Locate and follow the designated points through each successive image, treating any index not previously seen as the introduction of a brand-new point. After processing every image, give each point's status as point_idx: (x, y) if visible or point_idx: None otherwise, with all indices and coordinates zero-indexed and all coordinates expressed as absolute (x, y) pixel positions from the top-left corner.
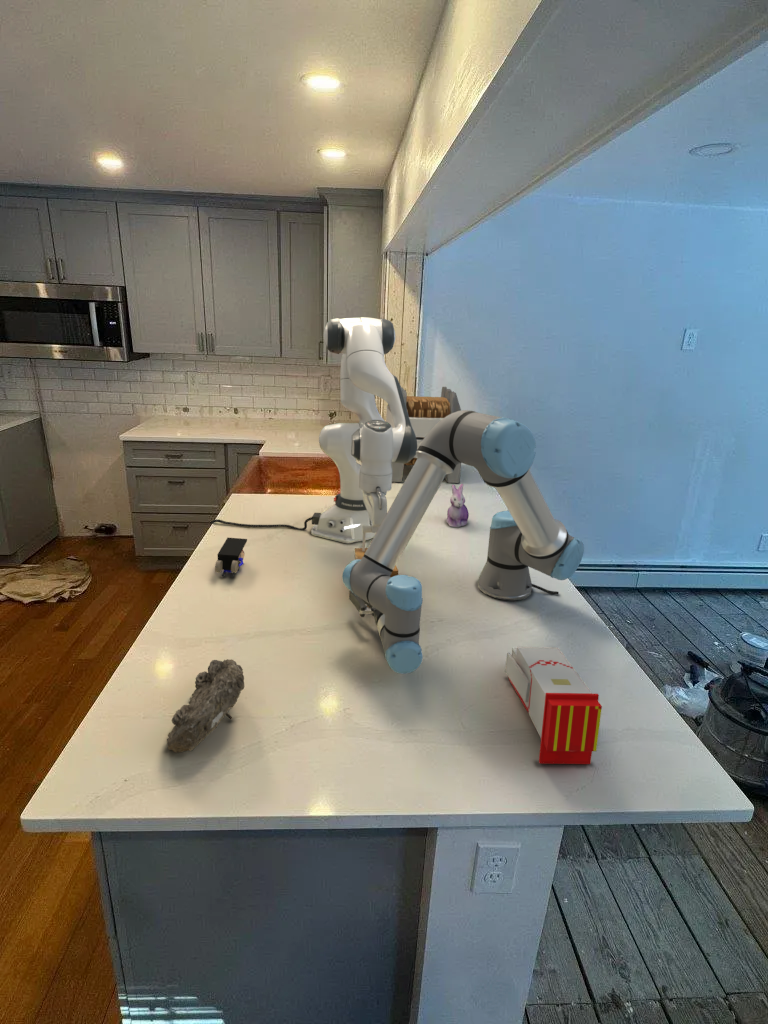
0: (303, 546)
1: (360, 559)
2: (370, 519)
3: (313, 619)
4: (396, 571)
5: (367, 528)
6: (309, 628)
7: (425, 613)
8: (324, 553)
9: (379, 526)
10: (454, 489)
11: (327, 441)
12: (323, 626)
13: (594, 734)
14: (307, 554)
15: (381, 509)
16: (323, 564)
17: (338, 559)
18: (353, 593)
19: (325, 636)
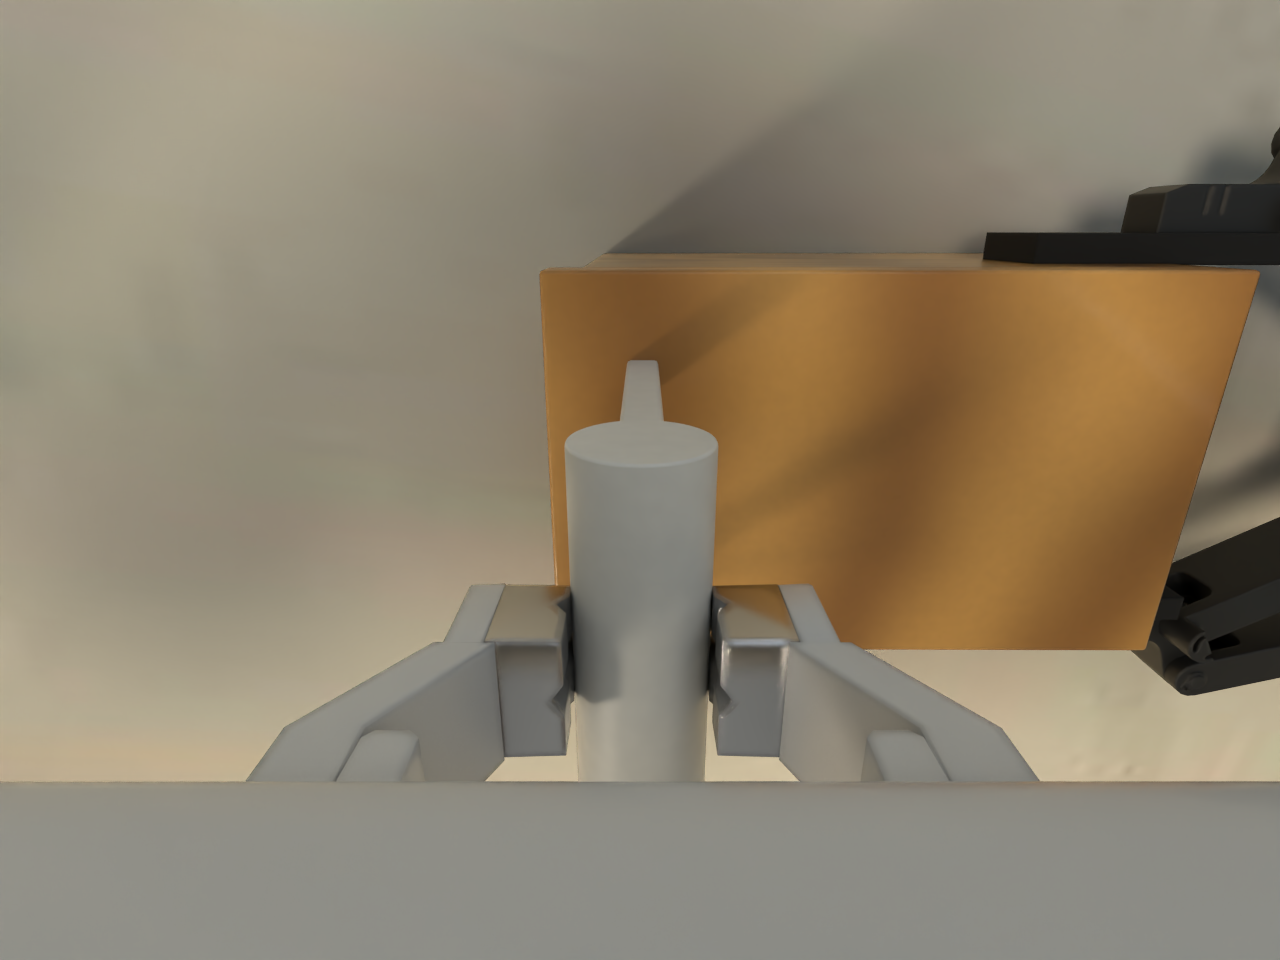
0: (49, 760)
1: (854, 629)
2: (478, 769)
3: (1020, 747)
4: (1249, 295)
5: (701, 757)
6: (1102, 767)
7: (1190, 28)
8: (141, 646)
9: (683, 569)
10: None
11: None
12: (1107, 708)
13: None
14: (178, 743)
15: (779, 944)
16: (327, 662)
17: (231, 565)
18: (1249, 673)
19: (1207, 705)
